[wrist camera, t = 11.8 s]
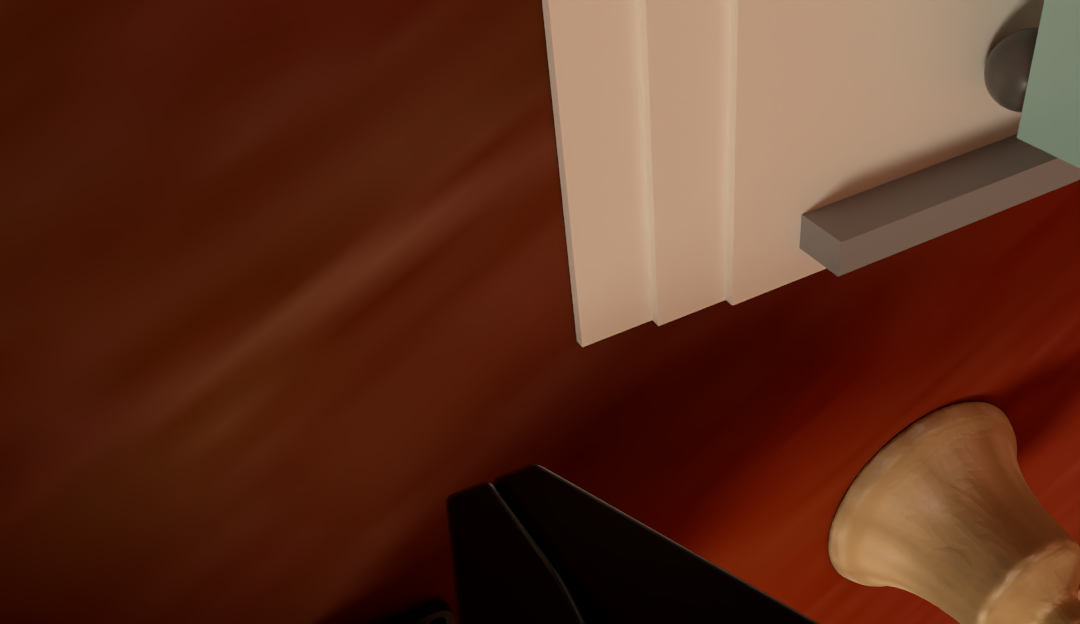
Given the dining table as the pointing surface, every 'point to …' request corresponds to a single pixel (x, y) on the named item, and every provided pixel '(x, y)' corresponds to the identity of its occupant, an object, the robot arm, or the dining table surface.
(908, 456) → the hand bell
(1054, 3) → the sage green box
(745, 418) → the dining table surface
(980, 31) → the dock
